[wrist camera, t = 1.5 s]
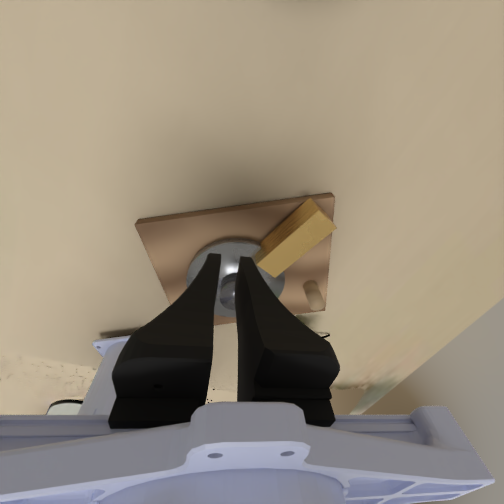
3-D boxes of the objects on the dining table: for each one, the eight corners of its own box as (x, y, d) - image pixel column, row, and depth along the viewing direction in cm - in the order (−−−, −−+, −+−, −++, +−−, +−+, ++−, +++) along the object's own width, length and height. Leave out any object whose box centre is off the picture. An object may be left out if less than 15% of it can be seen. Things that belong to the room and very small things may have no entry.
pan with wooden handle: (240, 322, 30) (240, 343, 27) (168, 282, 25) (161, 304, 23) (349, 237, 24) (363, 255, 21) (280, 167, 19) (287, 179, 17)
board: (322, 304, 31) (333, 330, 28) (183, 323, 31) (177, 351, 28) (331, 192, 22) (348, 211, 19) (138, 219, 23) (122, 242, 19)
